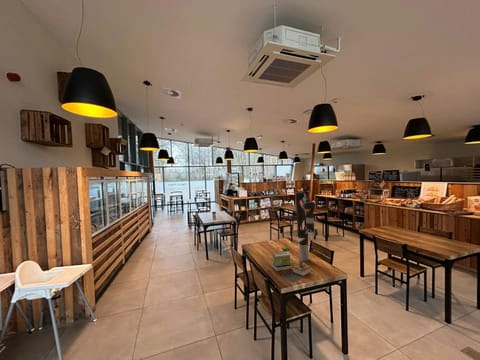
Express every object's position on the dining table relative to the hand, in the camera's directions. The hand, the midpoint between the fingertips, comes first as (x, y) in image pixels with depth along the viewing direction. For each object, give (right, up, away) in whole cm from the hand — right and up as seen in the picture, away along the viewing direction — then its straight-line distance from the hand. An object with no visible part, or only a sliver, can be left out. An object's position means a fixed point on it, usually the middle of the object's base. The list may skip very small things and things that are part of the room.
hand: (310, 238), depth 198 cm
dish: (-10, -32, -4) cm, 33 cm away
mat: (-22, -32, -13) cm, 41 cm away
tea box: (-27, -33, +7) cm, 43 cm away
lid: (-11, -27, -4) cm, 29 cm away
